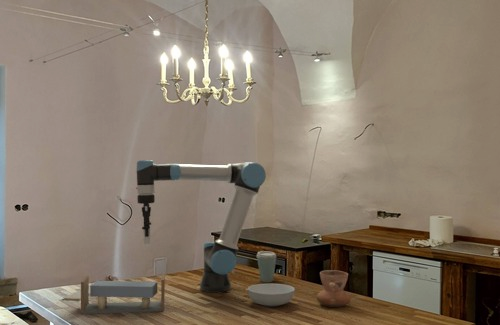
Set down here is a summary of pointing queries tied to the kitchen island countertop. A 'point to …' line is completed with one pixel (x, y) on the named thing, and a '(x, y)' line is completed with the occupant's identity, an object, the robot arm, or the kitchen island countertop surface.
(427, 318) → the kitchen island countertop surface
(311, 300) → the kitchen island countertop surface
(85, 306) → the peg shelf
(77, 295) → the baseboard
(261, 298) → the serving bowl
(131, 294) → the shelf board
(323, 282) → the ceramic jug
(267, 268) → the disposable coffee cup
